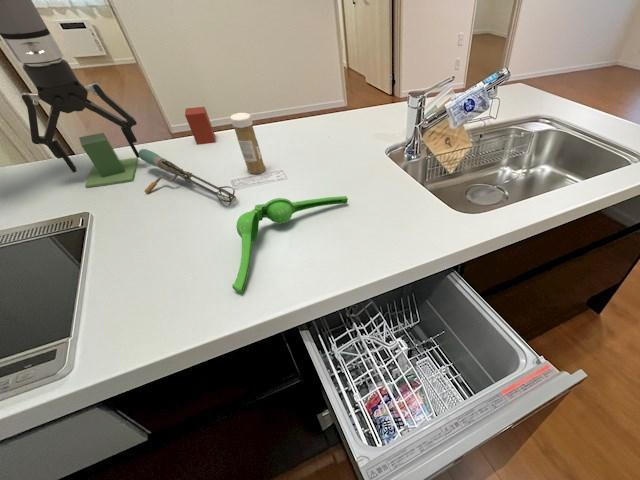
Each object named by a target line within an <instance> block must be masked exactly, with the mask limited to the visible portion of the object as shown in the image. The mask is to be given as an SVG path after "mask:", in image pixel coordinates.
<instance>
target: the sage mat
mask: <svg viewBox="0 0 640 480" xmlns="http://www.w3.org/2000/svg"><path fill="white" fill-rule="evenodd" d="M120 161H121V163H122V165H123V167H124V170H125V172H123V173H119V174H115V175H111V176H107V177H102V176H101V174H100V173H99V171H98V170H97V168H96V167H95V165H94V164H92V167H91V170H90V173H89V175H88V177H87V179H86V182H85V183H84V187H85V188H86V189H88V188H89V189H90V188H96V187H102V186H103V187H104V186H109V185H116V184H117V185H118V184H123V183H130V182H134V179H135V175H136V173H137V168H138V163H139V158H137V157H132V158H131V157H130V158H125V159H120Z"/></svg>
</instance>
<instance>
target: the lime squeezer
mask: <svg viewBox="0 0 640 480" xmlns="http://www.w3.org/2000/svg"><path fill="white" fill-rule="evenodd" d="M348 201H349V198H348V196H346V195H341V196H330V197H320V198H313V199H305V200H299V201H291V200H289V199H288V198H285V197H277V198H273V199H271V200H269V201H267V202H265V203H261V204H255V205H254V208H253V209H252V210H250V211H247V212H244V213H242V214H241V215H240V216H239V217H238V219H237V221H236V225H235V226H236V231H237V234H238V236H239V237H240V238H241V257H240V262H239V263H240V264H239V269H238V273H237V276H236V279H235V281H234V283H233V284H232V289H233V290H234V291H235V292H237V293H239V295H243V293H244V291H245V287H246V283H247V280H248V275H249V271H250V265H251V258H252V251H253V244H255V243H256V241H257V238H258V233H259V226H260V225H259V224H260V222H261V221H263V220H264V219H265V218H266V219H268V220H270V221H271V222H273V223H275V224H279V225H281V224H285V223H287V222H289V221H290V220H291V218H292V216H293V215H294V213H297V212H301V211H304V210H309V209H312V208H318V207H323V206H331V205H342V204H348Z"/></svg>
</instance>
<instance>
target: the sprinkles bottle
mask: <svg viewBox="0 0 640 480" xmlns="http://www.w3.org/2000/svg"><path fill="white" fill-rule="evenodd" d="M230 122H231V125H232V127H233V129H234V131H235V135H236V139H237V142H238V145H239V148H240V151H241V154H242V157H243V161H244V163H245V165H246V169H247V172H248V173H249V174H253V175H255V174H256V175H258V174H261V173H264V171H266V166H265V164H264V160H263V156H262V152H261V149H260V145H259V142H258V138H257V136H256V133H255V130H254V126H253V125H254V124H253V119H252V115H251V114H249V113H247V112H237V113H233V114H231V115H230Z"/></svg>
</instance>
